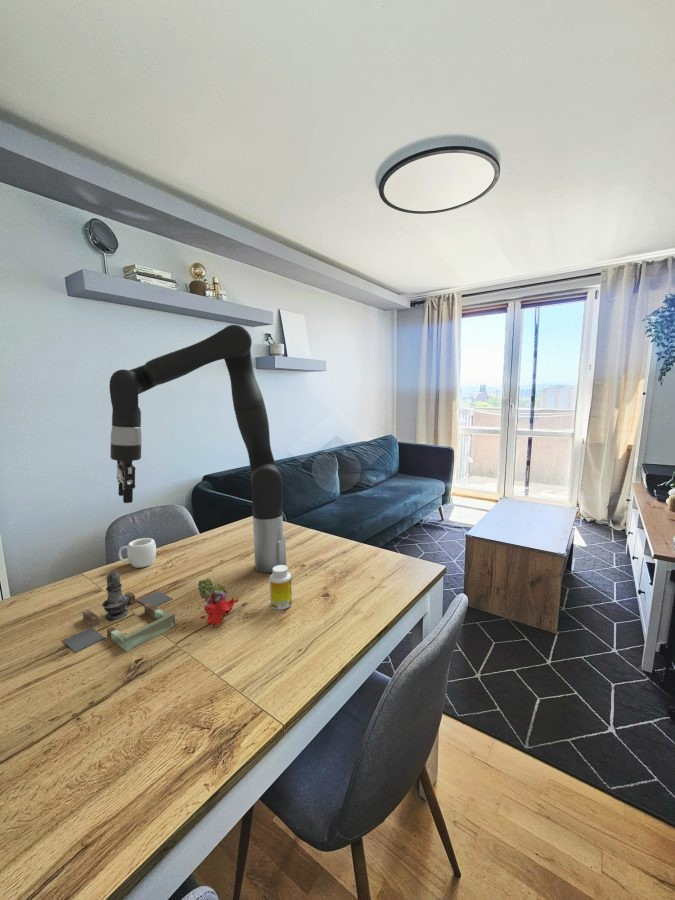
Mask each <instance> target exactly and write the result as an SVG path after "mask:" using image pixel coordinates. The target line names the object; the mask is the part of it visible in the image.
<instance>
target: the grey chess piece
mask: <svg viewBox="0 0 675 900" xmlns="http://www.w3.org/2000/svg"><path fill="white" fill-rule="evenodd" d="M106 586H107V587H106V588H105V591H107V599H105V600H104V601H103V602H102V603H101V606H102V608H103V609H104V611H105V612H106V614H105V615H104V619H105V620H106V621H110V622H111V621H117V620H121V619H122V618H125V617H126V616H127V615H129V609H128V608H127V606H128V600H129V597H128V596H125V594H124V595H123V592H122V588H123V584H122V583H121V579H120V573H118V572H115V570H113V569H111V571H110V573H109V574H108V575H106Z"/></svg>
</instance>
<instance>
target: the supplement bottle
mask: <svg viewBox="0 0 675 900" xmlns="http://www.w3.org/2000/svg"><path fill="white" fill-rule="evenodd" d="M272 571H273V572H271V575H270V576H269V598H270V606H271V608H273V609H275V610H277V611H278V610H281V611H282V610H285V609H288V608H289V607H291V605H292V603H293V599H292V598H293V597H292V595H293V594H292V590H293V589H292V575H291V573H290V572H289V568H288V566H287V565H286V564H285V565H277V566H275V567H273V569H272Z"/></svg>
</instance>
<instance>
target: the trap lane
mask: <svg viewBox="0 0 675 900" xmlns="http://www.w3.org/2000/svg"><path fill="white" fill-rule="evenodd" d="M124 595H125V596H128V597H129V600H128V603H129V604H130V605H132V604H134V603H136V595H135V594H134V593H132V592H130V591H128V592H126V593H124ZM128 603H127V604H128ZM143 607H144V608H143V610H144V611H143V612H144V613H145V614H147V615H148V616H150V617H151V618H153V619H154V621H152V622H151V623H149V624H147V625H145V626H142V627H139V629H136V630H134V631H132V632H131V633H129V634H127V635H125V634H124V633H122V632H121V631H119V630H118V629H116V628H115V627H113V626H111V627H108V628H107V629H106V633H107V634H106V635H107V638H108V639H109V640H111V641H112V642H114V643H115V644H116V645H117V646H118V647H120V648H121V649H123V650H124V651H125V652H126V653H128V652H130V651H131V650H134V649H135V648H137V647H140V646H141V645H142V644H144V643H147V642H148V641H150V640H152V639H154V638H156V637H158V636H159V635H161V634H163V633H165V632H166V631H168V630H171V629H172V628H175V627H176V625H177V624H176V614H175V613H174V612H170V613H167V612H165V611H163V610H161V608H159V607H158V606H157V607H155V606H153V605H151V604H150V603H147V604H145V605H143ZM82 618H83V620H84V621H86V623H88V624H90V625H91V627H92V626H93V628H95V627H97V626H99V625H100V618H99V616H98V615H97V614H96V613H94V612H93V611H91V610H90V609H89V608H87V609H85V610H82Z"/></svg>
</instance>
